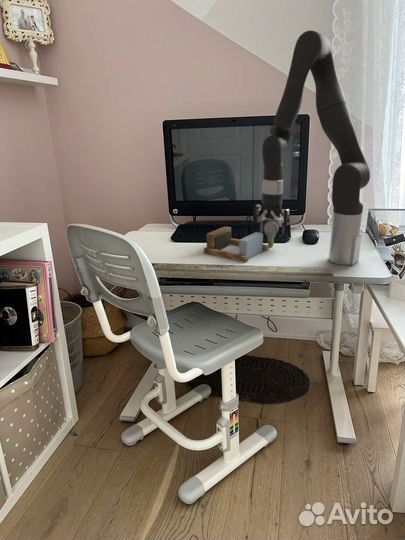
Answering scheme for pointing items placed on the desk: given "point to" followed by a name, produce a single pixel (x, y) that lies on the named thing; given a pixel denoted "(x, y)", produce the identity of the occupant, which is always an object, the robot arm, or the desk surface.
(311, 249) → the desk surface
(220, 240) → the vise frame
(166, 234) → the desk surface
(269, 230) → the light bulb
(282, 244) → the desk surface
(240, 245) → the slide jaw
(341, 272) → the desk surface
